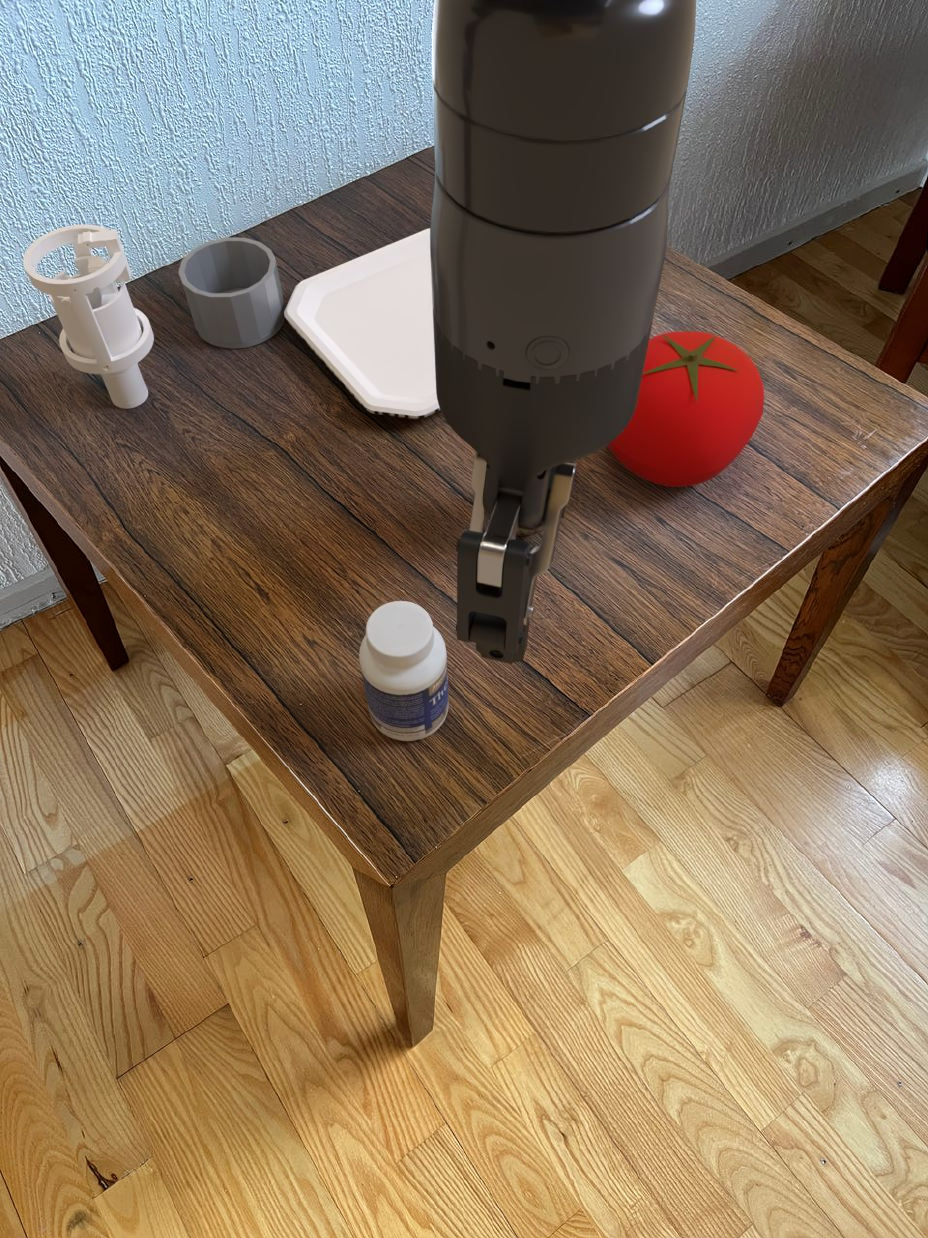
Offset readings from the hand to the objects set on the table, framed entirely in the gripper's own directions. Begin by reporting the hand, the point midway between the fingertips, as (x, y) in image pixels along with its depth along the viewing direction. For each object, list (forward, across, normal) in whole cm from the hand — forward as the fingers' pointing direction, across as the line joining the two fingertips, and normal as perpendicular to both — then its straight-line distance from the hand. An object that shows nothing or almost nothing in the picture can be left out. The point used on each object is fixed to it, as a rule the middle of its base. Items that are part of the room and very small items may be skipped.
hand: (523, 579), depth 46 cm
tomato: (+20, -29, +6) cm, 36 cm away
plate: (+20, -39, -17) cm, 47 cm away
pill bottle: (+20, -2, -7) cm, 21 cm away
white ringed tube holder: (+20, -25, -39) cm, 50 cm away
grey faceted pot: (+20, -36, -34) cm, 54 cm away
